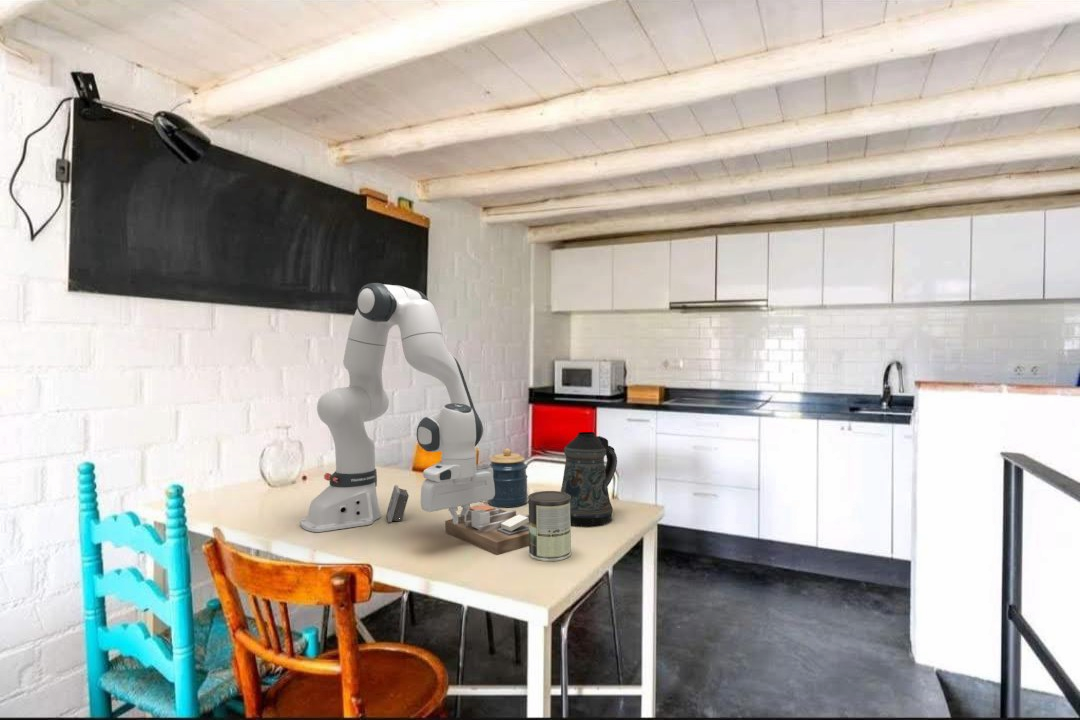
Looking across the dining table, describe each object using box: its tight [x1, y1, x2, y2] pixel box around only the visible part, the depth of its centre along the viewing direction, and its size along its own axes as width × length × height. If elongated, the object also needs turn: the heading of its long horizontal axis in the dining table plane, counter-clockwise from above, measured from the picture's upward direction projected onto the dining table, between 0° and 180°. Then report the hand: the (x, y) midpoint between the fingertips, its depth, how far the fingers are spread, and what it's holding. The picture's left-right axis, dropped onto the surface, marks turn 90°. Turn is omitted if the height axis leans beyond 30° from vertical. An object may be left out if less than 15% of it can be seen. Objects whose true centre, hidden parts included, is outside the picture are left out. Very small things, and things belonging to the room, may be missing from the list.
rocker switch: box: [501, 513, 529, 531], centre depth 149 cm, size 6×4×1 cm, turn 130°
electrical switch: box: [386, 484, 409, 524], centre depth 172 cm, size 9×5×9 cm, turn 18°
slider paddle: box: [471, 509, 490, 529], centre depth 151 cm, size 3×4×4 cm
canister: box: [487, 447, 529, 508], centre depth 188 cm, size 13×13×18 cm
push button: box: [469, 504, 494, 511], centre depth 161 cm, size 5×5×2 cm
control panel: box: [444, 503, 529, 556], centre depth 155 cm, size 18×24×6 cm
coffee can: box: [527, 490, 572, 562], centre depth 140 cm, size 10×10×14 cm
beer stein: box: [560, 431, 618, 528], centre depth 170 cm, size 16×19×25 cm
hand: (459, 522), depth 147 cm, fingers closed
